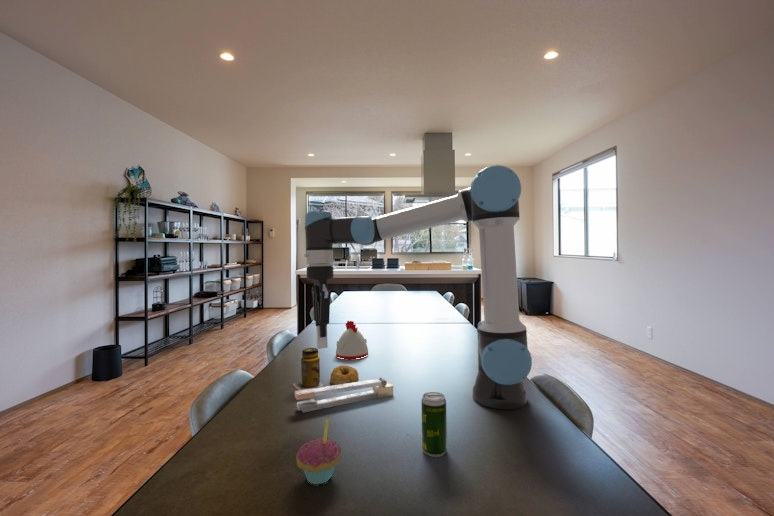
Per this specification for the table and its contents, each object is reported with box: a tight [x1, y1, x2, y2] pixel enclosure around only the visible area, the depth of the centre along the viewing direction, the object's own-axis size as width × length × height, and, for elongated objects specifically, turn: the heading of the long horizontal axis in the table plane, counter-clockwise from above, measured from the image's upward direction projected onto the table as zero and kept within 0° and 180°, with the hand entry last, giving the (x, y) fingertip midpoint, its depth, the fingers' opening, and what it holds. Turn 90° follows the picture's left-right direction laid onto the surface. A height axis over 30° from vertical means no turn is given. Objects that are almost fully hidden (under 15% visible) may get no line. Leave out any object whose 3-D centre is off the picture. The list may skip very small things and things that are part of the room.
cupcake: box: [295, 415, 342, 484], centre depth 68 cm, size 9×8×12 cm
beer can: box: [420, 391, 448, 458], centre depth 77 cm, size 5×5×12 cm
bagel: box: [329, 364, 360, 385], centre depth 121 cm, size 10×11×5 cm
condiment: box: [292, 347, 325, 391], centre depth 118 cm, size 7×8×12 cm
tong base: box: [296, 381, 394, 413], centre depth 104 cm, size 4×28×3 cm, turn 115°
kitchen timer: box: [335, 320, 369, 359], centre depth 153 cm, size 14×14×15 cm
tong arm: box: [294, 377, 388, 401], centre depth 104 cm, size 3×27×2 cm, turn 115°
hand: (322, 347), depth 101 cm, fingers closed
